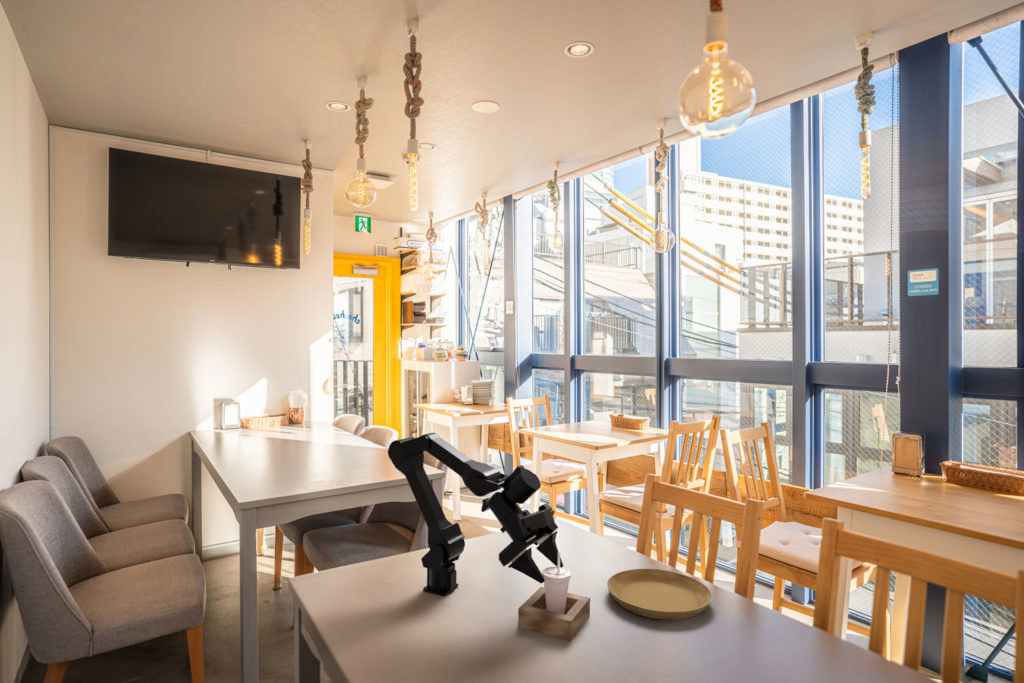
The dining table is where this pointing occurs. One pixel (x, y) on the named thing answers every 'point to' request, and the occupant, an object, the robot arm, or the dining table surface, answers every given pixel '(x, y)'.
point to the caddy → (554, 615)
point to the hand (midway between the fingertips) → (552, 574)
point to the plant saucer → (659, 593)
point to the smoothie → (556, 587)
